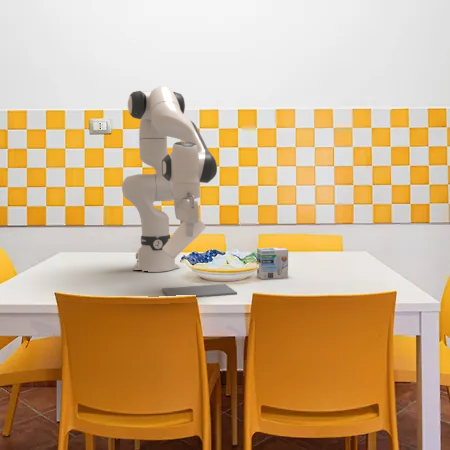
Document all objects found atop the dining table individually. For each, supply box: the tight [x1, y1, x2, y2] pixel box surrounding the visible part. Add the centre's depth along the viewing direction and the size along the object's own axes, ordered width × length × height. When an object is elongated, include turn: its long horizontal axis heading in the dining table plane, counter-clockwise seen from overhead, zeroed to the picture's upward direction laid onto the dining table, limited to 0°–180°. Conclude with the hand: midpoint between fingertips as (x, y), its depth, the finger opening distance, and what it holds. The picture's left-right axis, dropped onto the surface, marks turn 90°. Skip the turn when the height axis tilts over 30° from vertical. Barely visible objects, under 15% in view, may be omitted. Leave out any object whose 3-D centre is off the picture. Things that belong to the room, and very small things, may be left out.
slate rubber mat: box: [161, 283, 238, 298], centre depth 171 cm, size 14×22×1 cm, turn 106°
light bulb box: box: [256, 246, 289, 280], centre depth 195 cm, size 11×7×11 cm, turn 101°
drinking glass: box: [162, 218, 207, 260], centre depth 168 cm, size 7×7×15 cm
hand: (187, 235), depth 168 cm, fingers closed on drinking glass, 6 cm apart
